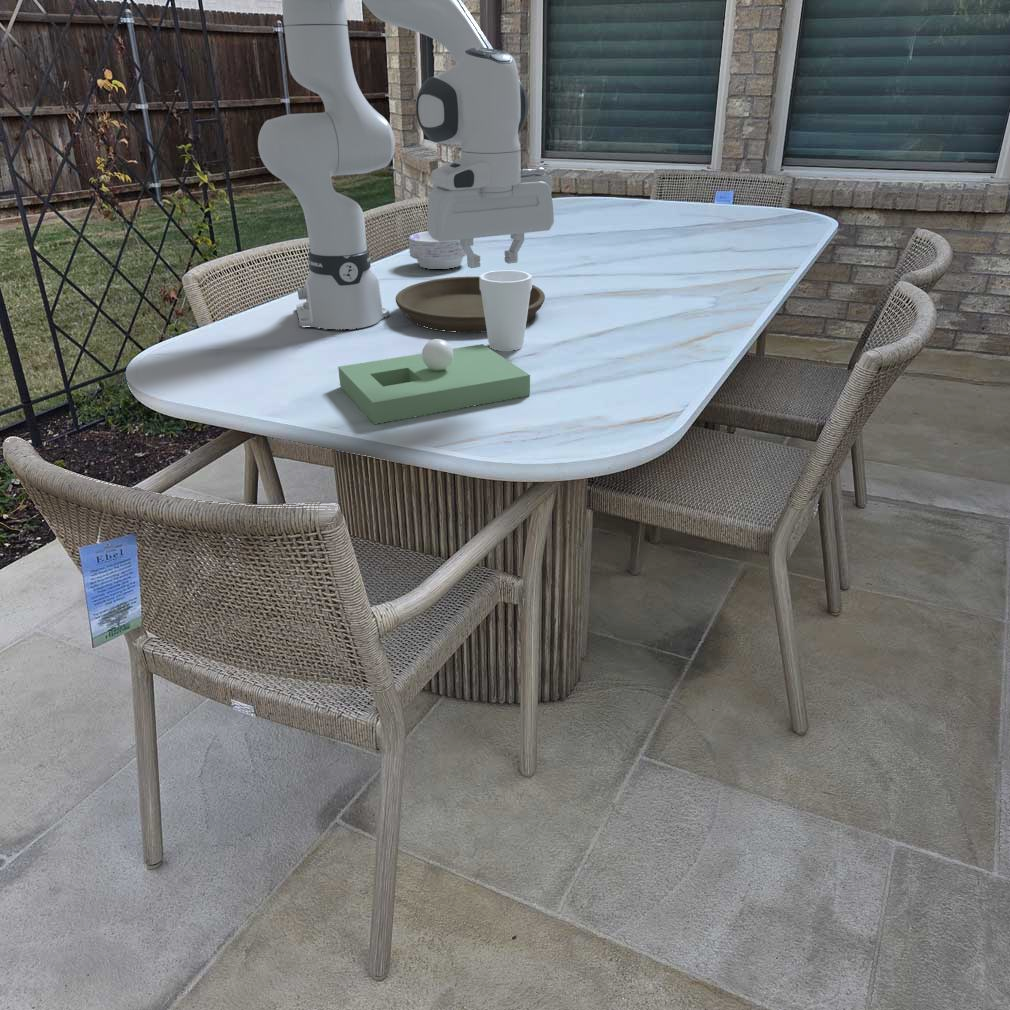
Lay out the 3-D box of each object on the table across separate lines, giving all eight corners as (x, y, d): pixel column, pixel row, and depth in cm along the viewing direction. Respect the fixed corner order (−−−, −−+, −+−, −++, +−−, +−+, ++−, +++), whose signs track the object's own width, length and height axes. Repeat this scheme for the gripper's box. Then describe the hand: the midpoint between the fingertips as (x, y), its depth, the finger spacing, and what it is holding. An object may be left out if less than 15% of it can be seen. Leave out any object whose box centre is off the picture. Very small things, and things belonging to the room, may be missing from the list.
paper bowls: (402, 263, 222) (400, 232, 218) (456, 257, 227) (455, 227, 224) (422, 276, 210) (420, 243, 206) (479, 269, 215) (478, 237, 211)
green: (340, 386, 141) (338, 366, 140) (482, 363, 151) (482, 344, 150) (374, 424, 127) (372, 402, 125) (529, 395, 137) (530, 374, 135)
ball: (418, 367, 139) (416, 337, 137) (446, 363, 141) (445, 333, 138) (429, 376, 135) (427, 346, 133) (458, 372, 137) (457, 341, 135)
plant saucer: (530, 341, 163) (530, 317, 161) (376, 333, 169) (374, 310, 167) (554, 299, 190) (555, 278, 188) (421, 293, 196) (420, 273, 194)
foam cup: (530, 338, 164) (530, 269, 158) (533, 353, 156) (533, 281, 150) (480, 339, 164) (479, 270, 158) (481, 354, 156) (479, 282, 150)
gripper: (542, 164, 134) (541, 254, 141) (420, 173, 126) (425, 267, 133) (562, 169, 129) (560, 261, 136) (436, 178, 121) (440, 276, 128)
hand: (492, 264), depth 134 cm, fingers open, 5 cm apart
